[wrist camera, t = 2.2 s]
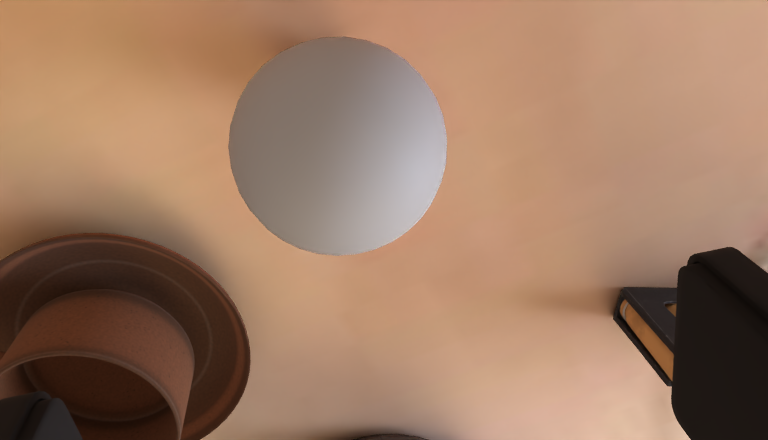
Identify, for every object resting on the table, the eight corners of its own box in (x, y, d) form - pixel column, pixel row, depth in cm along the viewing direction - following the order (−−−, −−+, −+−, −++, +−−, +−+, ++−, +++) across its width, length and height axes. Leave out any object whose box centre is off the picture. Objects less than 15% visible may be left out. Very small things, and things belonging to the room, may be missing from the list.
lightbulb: (250, 148, 26) (220, 297, 17) (248, -10, 24) (212, 58, 14) (397, 153, 27) (452, 298, 17) (412, 2, 24) (487, 73, 15)
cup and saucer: (28, 446, 32) (-29, 560, 26) (-68, 233, 26) (-165, 322, 21) (271, 412, 33) (265, 517, 27) (227, 199, 27) (208, 275, 22)
